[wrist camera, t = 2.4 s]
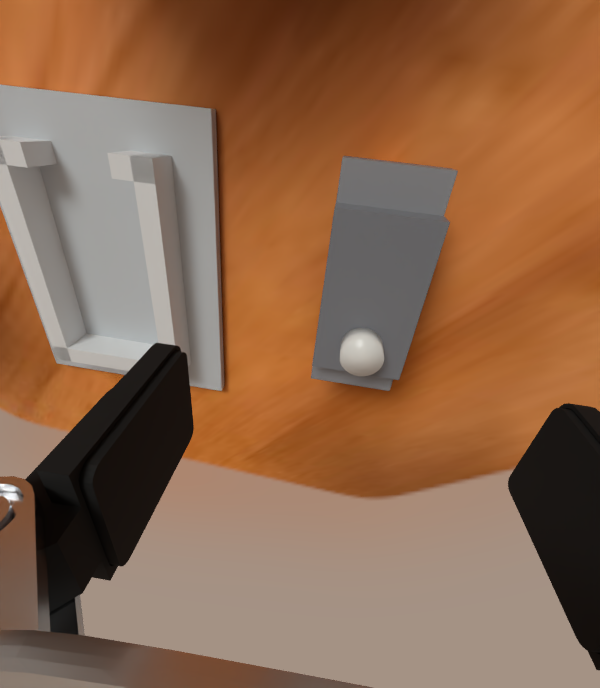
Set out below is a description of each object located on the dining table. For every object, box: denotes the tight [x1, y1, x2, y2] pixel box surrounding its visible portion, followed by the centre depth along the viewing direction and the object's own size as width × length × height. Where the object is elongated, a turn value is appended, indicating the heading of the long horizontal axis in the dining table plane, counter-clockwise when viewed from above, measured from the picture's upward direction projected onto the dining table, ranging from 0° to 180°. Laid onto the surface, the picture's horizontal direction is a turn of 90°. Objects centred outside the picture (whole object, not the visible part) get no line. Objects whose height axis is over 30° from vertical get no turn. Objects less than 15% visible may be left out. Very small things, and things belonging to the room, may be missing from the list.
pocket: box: [0, 85, 224, 391], centre depth 19 cm, size 12×16×2 cm
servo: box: [311, 156, 458, 391], centre depth 16 cm, size 4×10×6 cm, turn 175°
